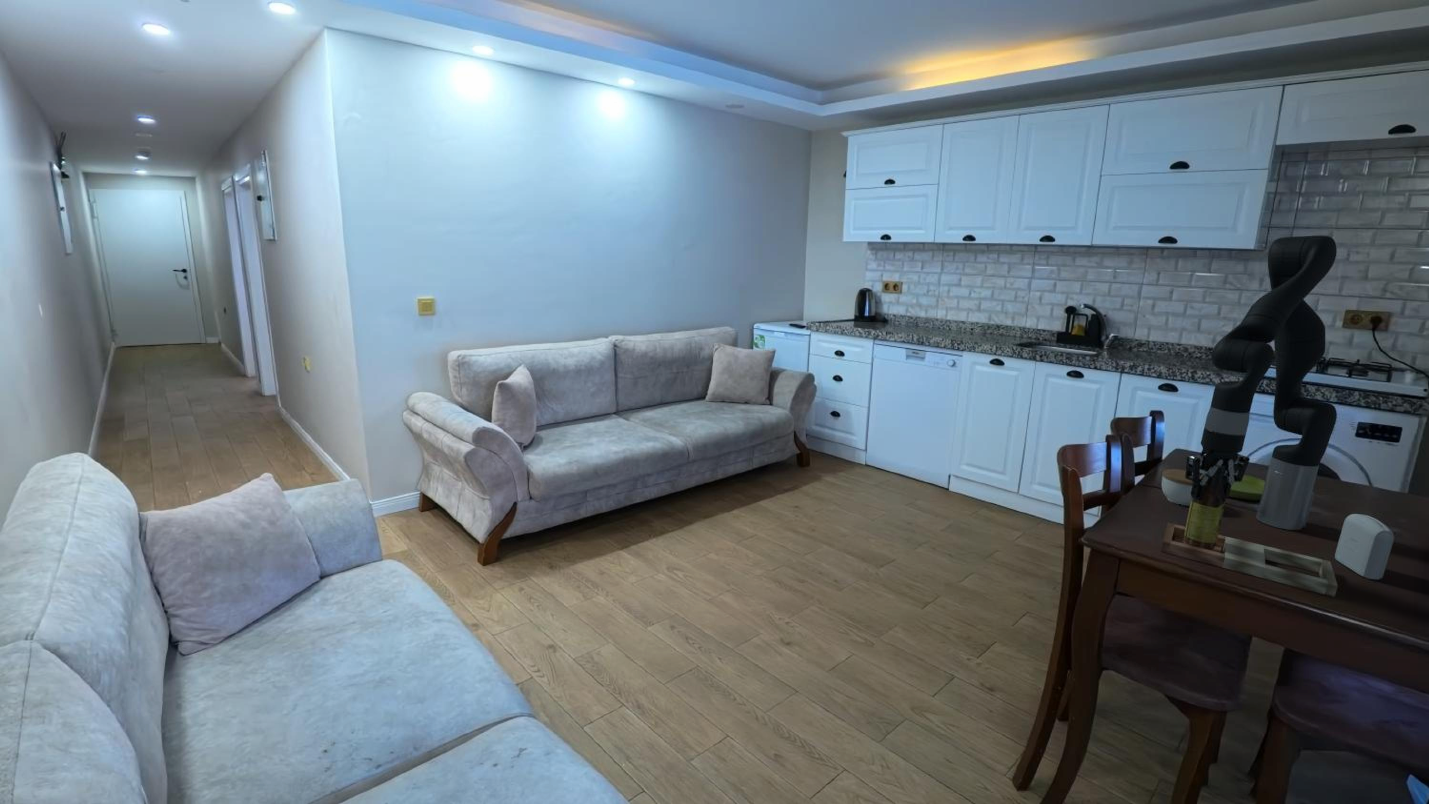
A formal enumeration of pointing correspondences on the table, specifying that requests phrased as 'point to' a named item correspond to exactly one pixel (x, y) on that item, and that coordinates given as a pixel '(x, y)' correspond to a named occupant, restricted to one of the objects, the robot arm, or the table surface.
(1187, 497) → the lidded jar
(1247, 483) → the saucer
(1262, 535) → the table surface
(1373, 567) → the photo printer
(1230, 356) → the robot arm
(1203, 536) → the sauce bottle
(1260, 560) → the birch rail plate
